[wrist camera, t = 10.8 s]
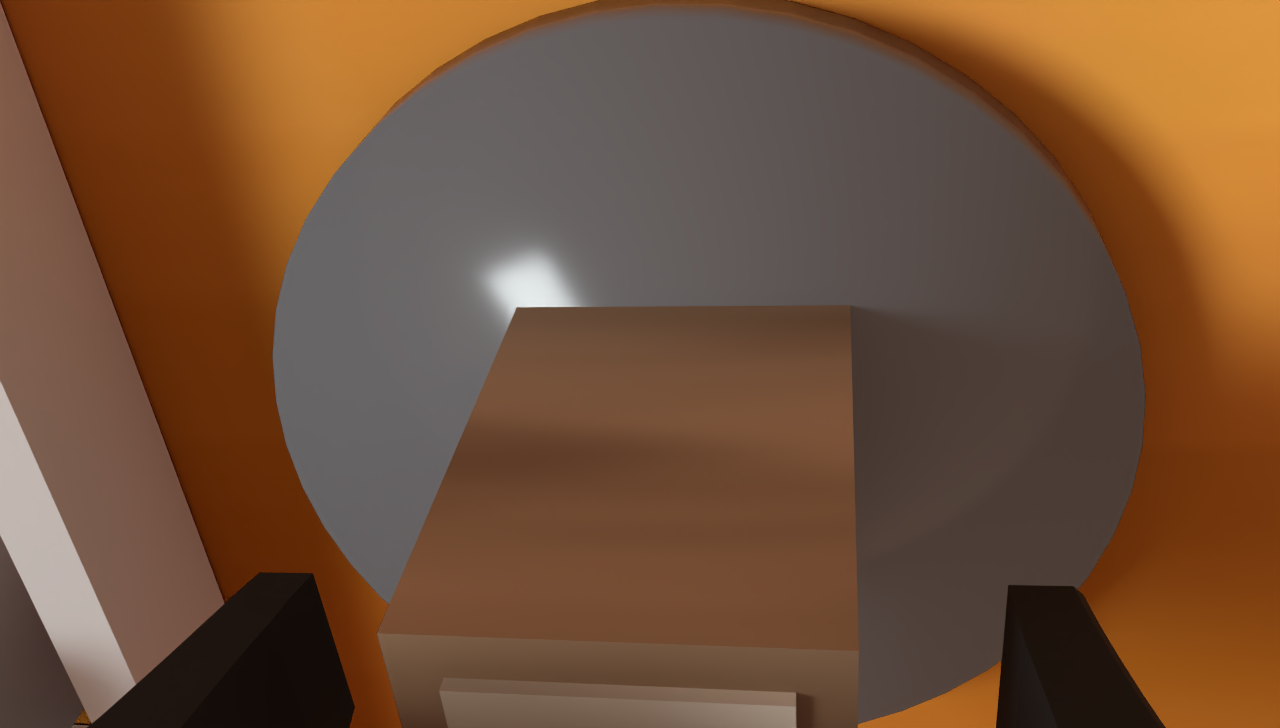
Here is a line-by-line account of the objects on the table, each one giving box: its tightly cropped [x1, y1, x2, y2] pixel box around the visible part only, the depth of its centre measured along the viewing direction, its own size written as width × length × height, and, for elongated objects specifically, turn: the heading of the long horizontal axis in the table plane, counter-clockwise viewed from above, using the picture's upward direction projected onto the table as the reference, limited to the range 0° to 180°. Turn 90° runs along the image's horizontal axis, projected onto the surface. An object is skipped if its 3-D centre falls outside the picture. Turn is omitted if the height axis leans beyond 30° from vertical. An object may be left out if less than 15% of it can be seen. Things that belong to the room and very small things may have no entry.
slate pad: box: [273, 0, 1146, 724], centre depth 16 cm, size 11×11×1 cm
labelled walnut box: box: [377, 305, 859, 728], centre depth 13 cm, size 4×4×6 cm
